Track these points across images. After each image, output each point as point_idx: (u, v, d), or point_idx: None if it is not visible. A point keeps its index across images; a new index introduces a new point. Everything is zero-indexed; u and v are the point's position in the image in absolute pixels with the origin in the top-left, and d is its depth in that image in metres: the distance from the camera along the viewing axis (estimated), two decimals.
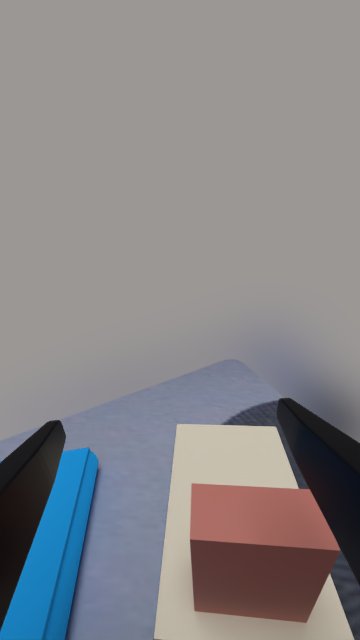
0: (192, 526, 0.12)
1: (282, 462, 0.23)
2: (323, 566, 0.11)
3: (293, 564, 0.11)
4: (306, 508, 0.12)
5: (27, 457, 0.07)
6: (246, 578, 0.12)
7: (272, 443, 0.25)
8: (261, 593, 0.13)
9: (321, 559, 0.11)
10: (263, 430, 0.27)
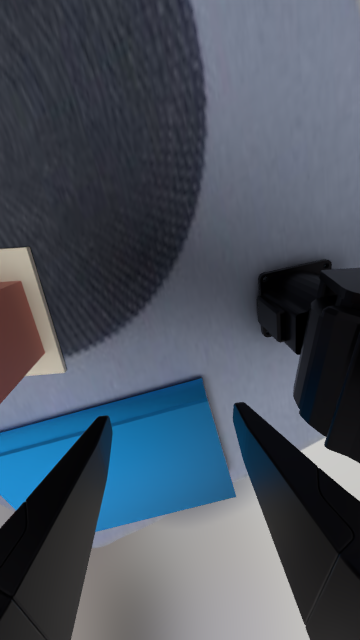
0: None
1: None
2: None
3: None
4: None
5: (89, 451, 0.07)
6: None
7: None
8: (7, 333, 0.17)
9: None
10: None
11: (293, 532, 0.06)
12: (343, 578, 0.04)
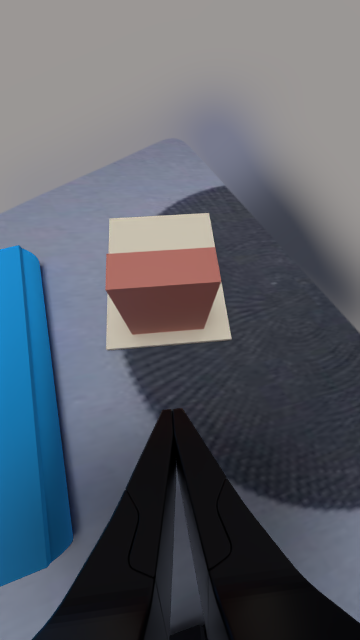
0: (107, 282, 0.14)
1: (208, 242, 0.26)
2: (210, 294, 0.15)
3: (189, 296, 0.15)
4: (204, 260, 0.14)
5: (168, 442, 0.07)
6: (159, 310, 0.17)
7: (203, 227, 0.27)
8: (172, 317, 0.19)
9: (208, 289, 0.15)
10: (196, 217, 0.27)
11: (195, 544, 0.06)
12: (212, 597, 0.04)
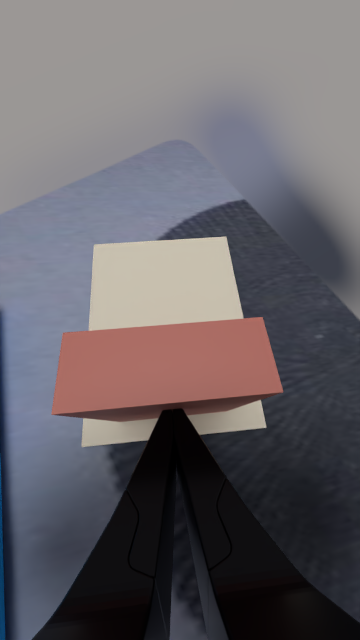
0: (58, 395, 0.07)
1: (227, 278, 0.19)
2: (254, 399, 0.08)
3: (216, 403, 0.08)
4: (245, 344, 0.08)
5: (168, 442, 0.07)
6: (160, 412, 0.10)
7: (219, 257, 0.20)
8: None
9: (253, 397, 0.08)
10: (210, 242, 0.21)
11: (195, 545, 0.06)
12: (212, 597, 0.04)
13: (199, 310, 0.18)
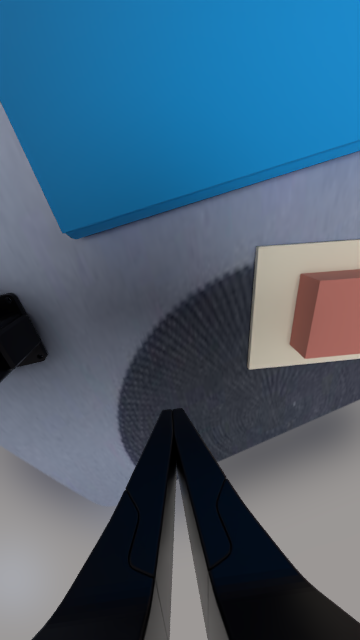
0: None
1: None
2: None
3: None
4: None
5: (168, 442, 0.07)
6: None
7: None
8: (352, 323, 0.19)
9: None
10: None
11: (195, 544, 0.06)
12: (211, 597, 0.04)
13: None
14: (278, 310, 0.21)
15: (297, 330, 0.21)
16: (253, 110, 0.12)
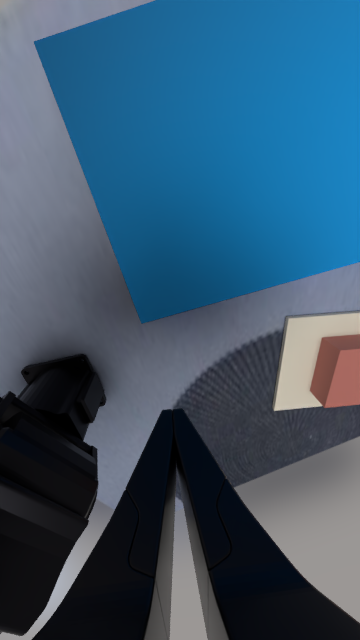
0: None
1: None
2: None
3: None
4: None
5: (168, 442, 0.07)
6: None
7: None
8: None
9: None
10: None
11: (195, 545, 0.06)
12: (212, 597, 0.04)
13: None
14: (301, 365, 0.25)
15: (318, 382, 0.24)
16: (296, 240, 0.16)
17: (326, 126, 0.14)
